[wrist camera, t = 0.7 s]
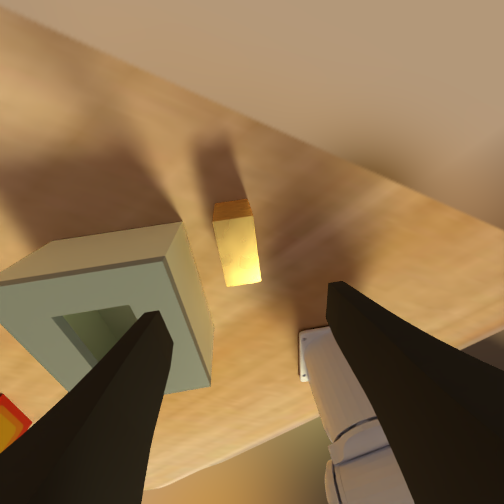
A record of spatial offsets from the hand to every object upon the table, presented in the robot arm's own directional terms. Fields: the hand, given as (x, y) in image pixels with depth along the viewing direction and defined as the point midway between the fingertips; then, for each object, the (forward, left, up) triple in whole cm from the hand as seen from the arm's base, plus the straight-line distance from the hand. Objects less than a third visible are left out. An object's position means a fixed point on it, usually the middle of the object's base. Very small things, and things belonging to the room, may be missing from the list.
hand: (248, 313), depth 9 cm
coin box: (-5, +9, -9) cm, 14 cm away
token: (0, 0, -10) cm, 10 cm away
